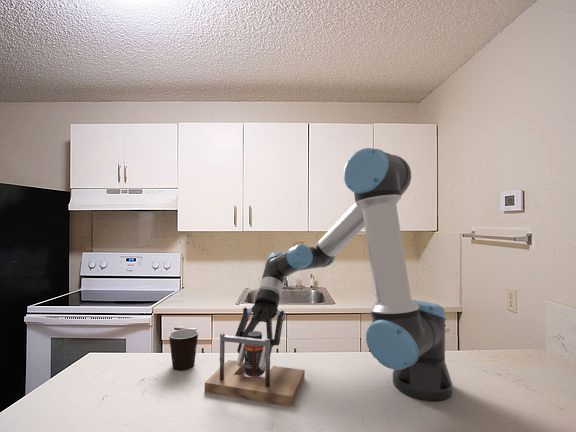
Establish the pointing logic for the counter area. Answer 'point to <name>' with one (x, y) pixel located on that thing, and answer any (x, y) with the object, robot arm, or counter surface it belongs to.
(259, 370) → the supplement bottle
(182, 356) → the coffee mug
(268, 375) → the grey metal arch frame
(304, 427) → the counter surface
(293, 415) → the counter surface
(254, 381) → the notched wooden board
